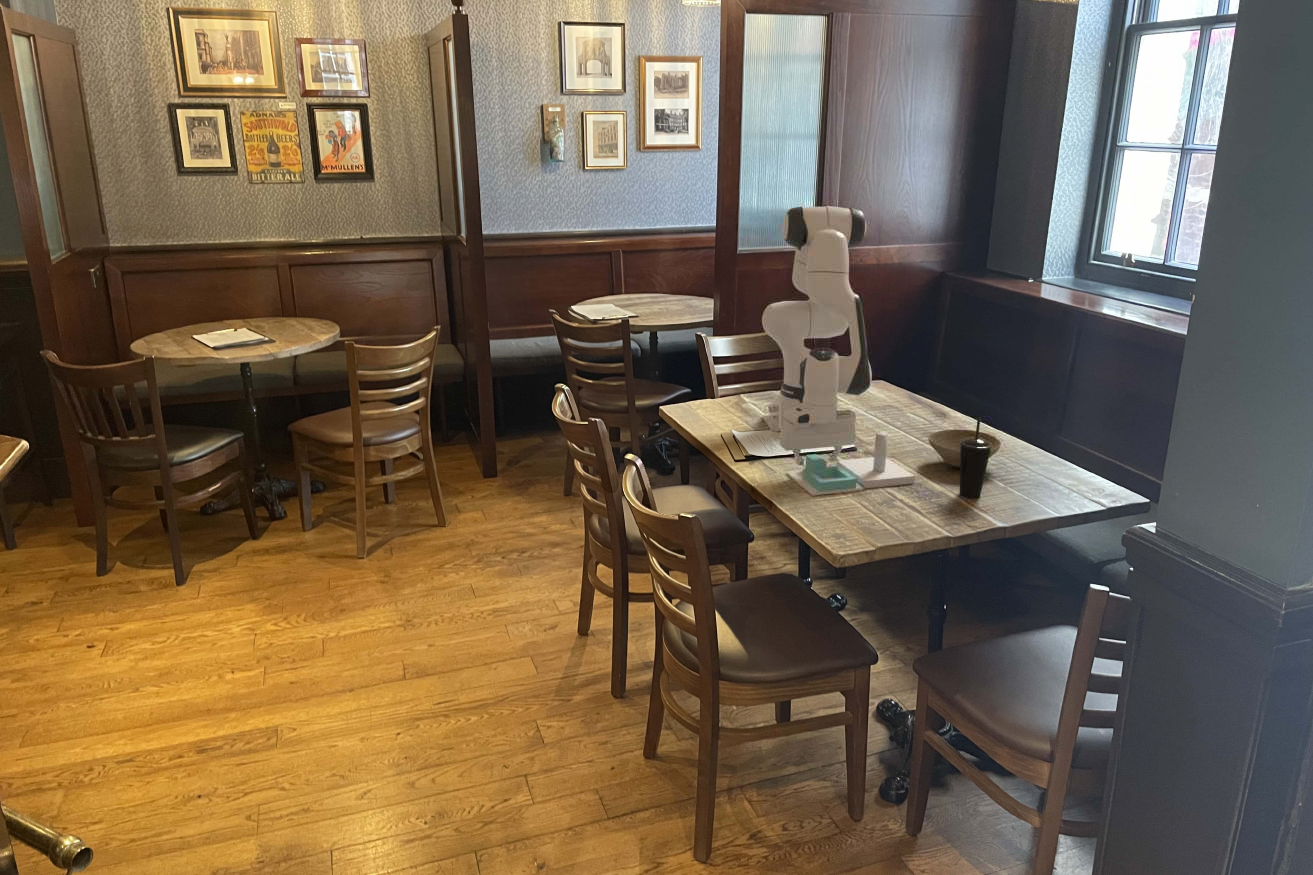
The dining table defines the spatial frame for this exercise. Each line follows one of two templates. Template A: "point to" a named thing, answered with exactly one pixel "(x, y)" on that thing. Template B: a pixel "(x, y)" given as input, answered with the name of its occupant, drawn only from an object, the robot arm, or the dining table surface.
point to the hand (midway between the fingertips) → (816, 462)
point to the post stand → (877, 467)
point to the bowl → (957, 444)
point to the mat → (799, 479)
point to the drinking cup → (973, 464)
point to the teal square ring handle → (826, 475)
